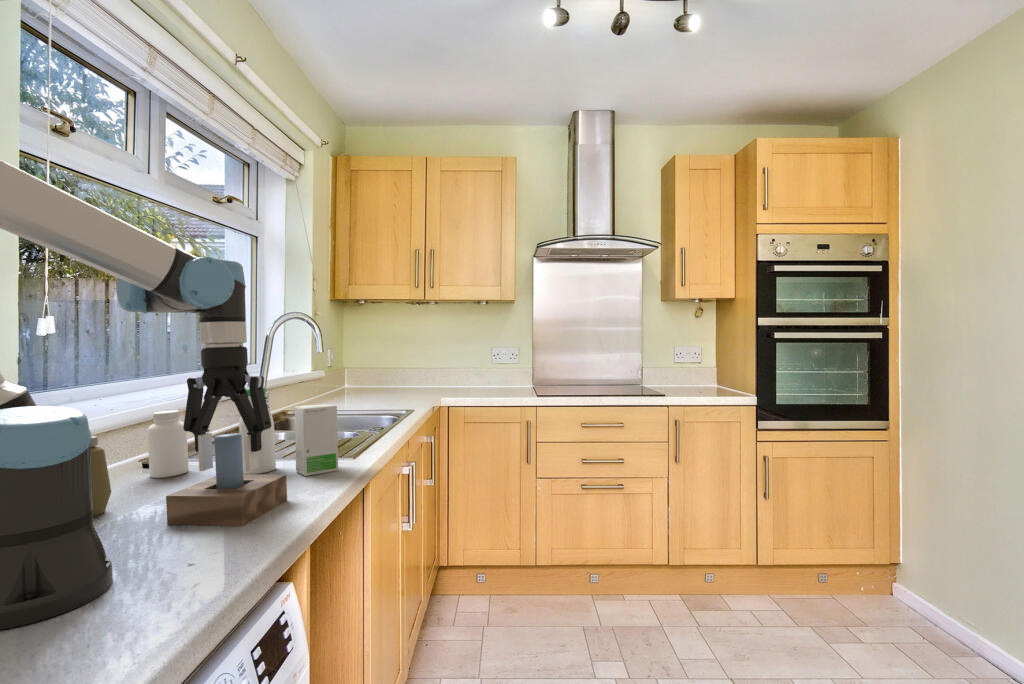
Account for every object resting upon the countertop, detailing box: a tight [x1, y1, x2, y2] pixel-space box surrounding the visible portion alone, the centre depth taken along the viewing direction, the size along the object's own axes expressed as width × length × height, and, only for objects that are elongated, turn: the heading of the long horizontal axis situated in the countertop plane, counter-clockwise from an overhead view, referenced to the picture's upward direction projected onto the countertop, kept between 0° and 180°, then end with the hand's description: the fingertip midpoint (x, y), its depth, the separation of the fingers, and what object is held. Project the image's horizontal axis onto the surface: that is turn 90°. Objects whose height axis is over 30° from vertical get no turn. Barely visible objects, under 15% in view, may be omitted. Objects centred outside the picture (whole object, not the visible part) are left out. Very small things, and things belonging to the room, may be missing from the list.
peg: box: [213, 432, 244, 489], centre depth 99 cm, size 4×4×14 cm
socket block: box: [165, 474, 288, 527], centre depth 99 cm, size 14×14×5 cm
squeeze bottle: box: [90, 435, 112, 517], centre depth 100 cm, size 8×8×18 cm
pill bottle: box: [146, 409, 189, 479], centre depth 129 cm, size 8×8×15 cm
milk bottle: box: [238, 386, 277, 475], centre depth 129 cm, size 8×8×20 cm
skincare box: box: [294, 403, 339, 477], centre depth 128 cm, size 8×7×16 cm
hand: (229, 469), depth 99 cm, fingers open, 8 cm apart
